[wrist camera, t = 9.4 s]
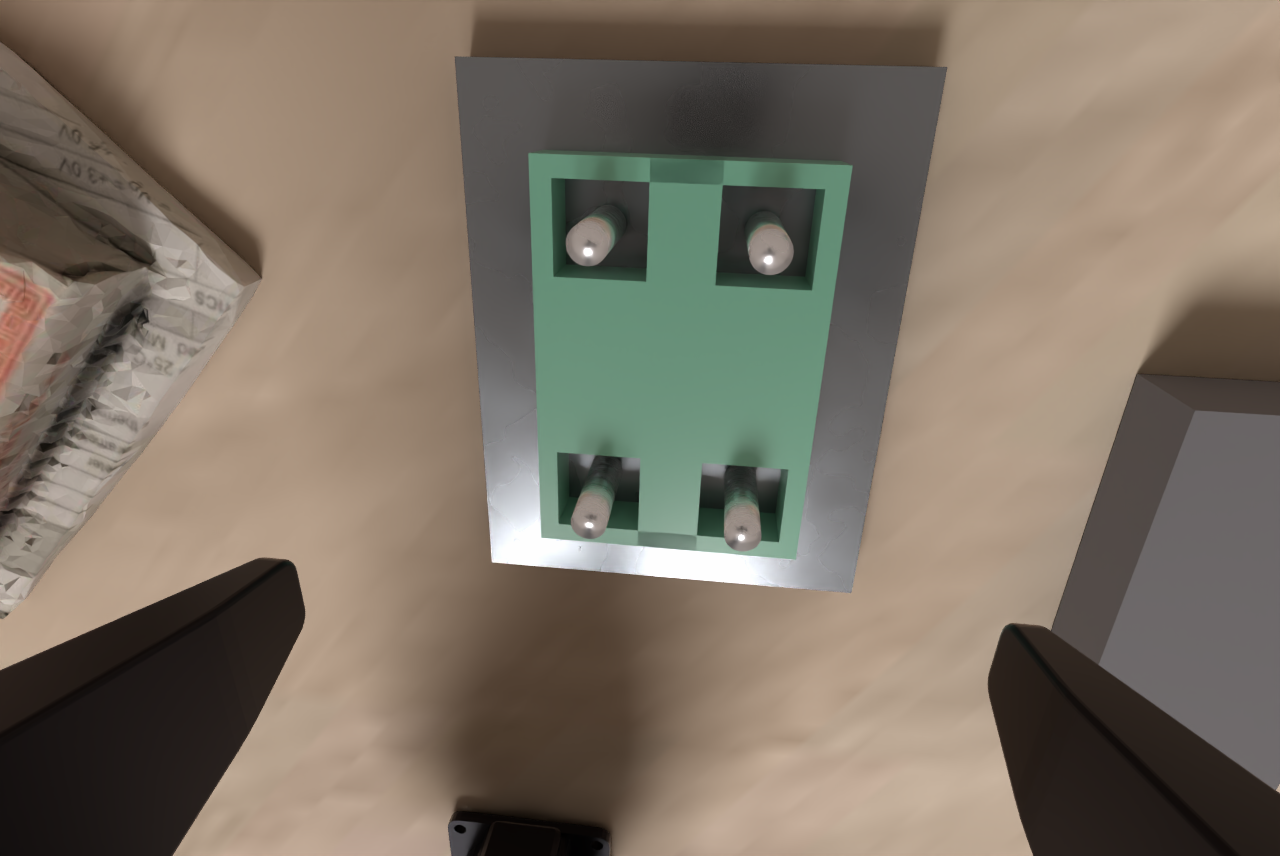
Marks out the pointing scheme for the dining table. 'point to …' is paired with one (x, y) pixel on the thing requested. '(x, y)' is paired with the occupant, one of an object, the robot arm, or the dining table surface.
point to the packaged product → (89, 318)
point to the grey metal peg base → (748, 243)
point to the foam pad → (1190, 562)
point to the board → (680, 348)
